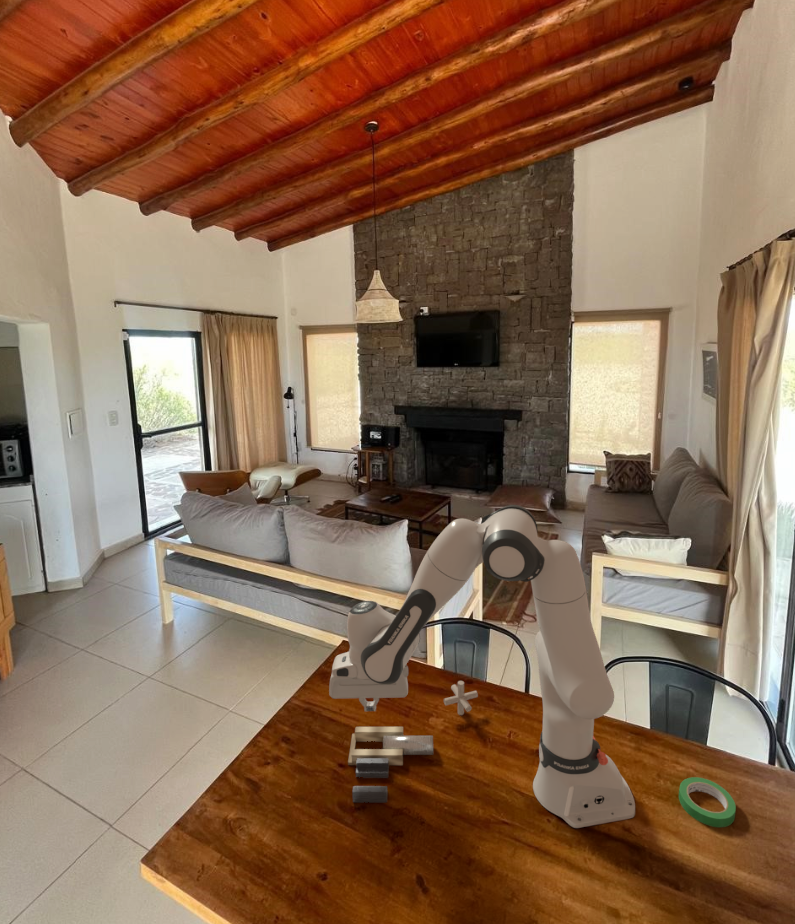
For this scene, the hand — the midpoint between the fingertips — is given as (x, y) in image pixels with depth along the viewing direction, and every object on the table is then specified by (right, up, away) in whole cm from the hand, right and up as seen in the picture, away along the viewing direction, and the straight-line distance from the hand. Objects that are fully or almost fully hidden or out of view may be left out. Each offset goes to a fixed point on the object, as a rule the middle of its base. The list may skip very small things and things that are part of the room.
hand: (370, 709), depth 134 cm
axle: (+10, -10, +1) cm, 14 cm away
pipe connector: (+25, -9, +15) cm, 31 cm away
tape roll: (+78, -15, -16) cm, 81 cm away
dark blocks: (+1, -14, -8) cm, 17 cm away
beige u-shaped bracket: (+2, -12, +2) cm, 12 cm away
